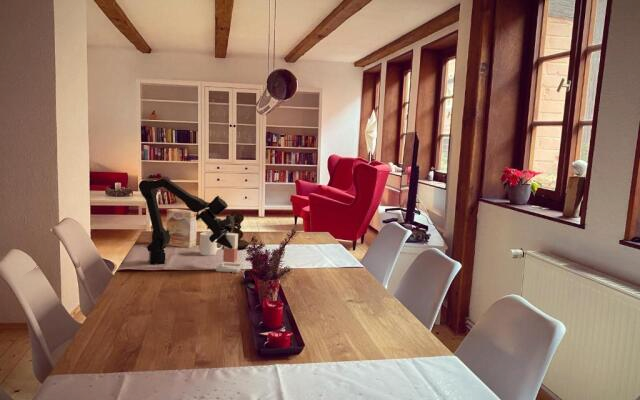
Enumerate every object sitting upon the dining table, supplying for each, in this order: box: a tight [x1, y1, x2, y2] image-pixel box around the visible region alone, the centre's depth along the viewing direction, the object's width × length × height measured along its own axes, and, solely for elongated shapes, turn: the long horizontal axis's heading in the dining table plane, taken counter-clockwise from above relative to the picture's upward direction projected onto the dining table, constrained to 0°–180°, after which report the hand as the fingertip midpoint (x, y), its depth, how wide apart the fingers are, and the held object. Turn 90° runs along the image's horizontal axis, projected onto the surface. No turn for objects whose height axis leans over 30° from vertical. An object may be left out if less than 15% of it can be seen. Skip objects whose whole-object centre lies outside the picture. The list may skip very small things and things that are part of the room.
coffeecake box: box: [165, 208, 198, 249], centre depth 267 cm, size 15×7×20 cm, turn 73°
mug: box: [199, 231, 224, 257], centre depth 252 cm, size 9×12×11 cm
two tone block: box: [222, 233, 239, 263], centre depth 224 cm, size 5×5×12 cm
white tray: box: [215, 261, 244, 274], centre depth 225 cm, size 10×10×2 cm
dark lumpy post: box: [230, 210, 250, 249], centre depth 271 cm, size 15×15×20 cm
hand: (233, 247), depth 223 cm, fingers closed on two tone block, 5 cm apart
